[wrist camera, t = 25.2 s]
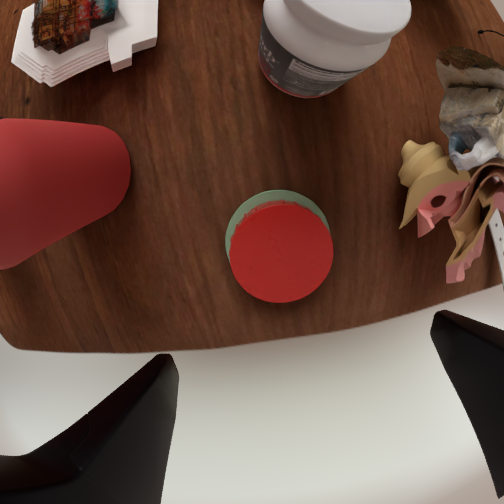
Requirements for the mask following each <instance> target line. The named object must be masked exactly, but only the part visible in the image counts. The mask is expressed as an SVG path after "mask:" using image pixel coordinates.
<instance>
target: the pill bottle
mask: <svg viewBox="0 0 504 504" xmlns="http://www.w3.org/2000/svg"><path fill="white" fill-rule="evenodd" d="M410 17H411V3H410V0H264V4H263V13H262V24H261V33H260V42H259V51H258V57H259V63H260V67H261V69H262V71H263V73H264V75H265V76H266V78H267V79H268V80H269V81H270V82H271V83H272V84H273V85H274V86H275V87H277V88H278V89H279V90H281V91H283V92H285V93H287V94H290V95H293V96H296V97H301V98H316V97H321V96H324V95H326V94H329V93H331V92H332V91H334V90H336V89H337V88H338V87H340V86H341V85H343V84H344V83H346V82H347V81H349V80H350V79H352V78H353V77H355V76H356V75H358V74H359V73H361V72H362V71H364V70H365V69H367V68H368V67H370V66H372V65H373V64H374V63H376V62H377V61H378V60H379V59H380V58H381V57H382V56H383V55H384V54H385V53H386V51H387V50H388V47H389V45H390V42H391V37H393V36H394V35H395V34H397V33H398V32H399V31H401V30H402V29H403V28H404V27H405V26H406V25H407V23H408V22H409V20H410Z"/></svg>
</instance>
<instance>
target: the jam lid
mask: <svg viewBox="0 0 504 504" xmlns="http://www.w3.org/2000/svg"><path fill="white" fill-rule="evenodd" d="M230 242H231V246H230V249H229V255H230V265H231V269H232V272H233V274H234V276H235V278H236V280H237V281H238V283H239V284H240V285H241V287H242V288H243V289H244V290H246V291H247V292H248V293H249V294H251V295H253V296H254V297H256V298H258V299H261V300H264V301H267V302H273V303H285V302H291V301H295V300H298V299H301V298H303V297H305V296H307V295H309V294H310V293H312V292H313V291H314V290H316V289H317V288H318V287H319V286H320V285H321V283H322V282H323V281H324V279H325V278H326V276H327V275H328V272H329V270H330V268H331V265H332V260H333V243H332V238H331V236H330V233H329V231H328V228H327V227H326V226H325V224H324V223H323V222H322V221H321V218H320V217H319V216H318V215H317V214H316V215H315V214H314V213H313V212H312V211H311V209H310V208H308V207H307V206H306V207H305V206H303V205H301V204H298V203H297V202H296V201H294V202H292V201H285V200H283V199H281V200H275V201H269V200H268V201H267V202H266V203H263V204H260V205H258V206H255V208H253V209H251V210H250V211H249V212H248V213H247V214H244V217H243V218H242V219H241V220H240V222H239V223H238V224H236V227H235V230H234V233H233V236H231V239H230Z"/></svg>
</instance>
